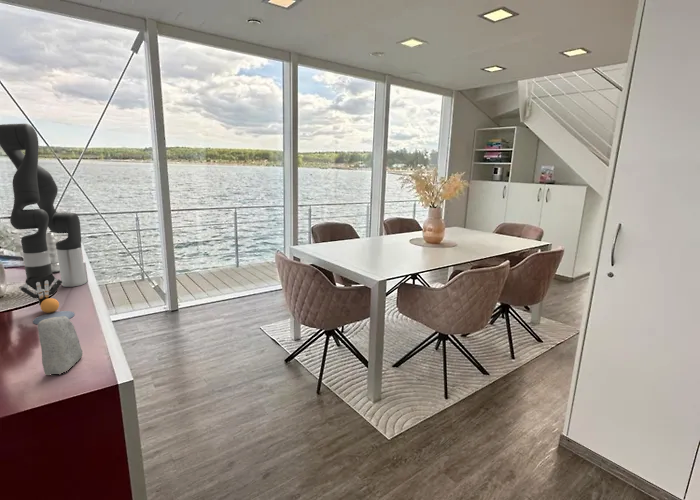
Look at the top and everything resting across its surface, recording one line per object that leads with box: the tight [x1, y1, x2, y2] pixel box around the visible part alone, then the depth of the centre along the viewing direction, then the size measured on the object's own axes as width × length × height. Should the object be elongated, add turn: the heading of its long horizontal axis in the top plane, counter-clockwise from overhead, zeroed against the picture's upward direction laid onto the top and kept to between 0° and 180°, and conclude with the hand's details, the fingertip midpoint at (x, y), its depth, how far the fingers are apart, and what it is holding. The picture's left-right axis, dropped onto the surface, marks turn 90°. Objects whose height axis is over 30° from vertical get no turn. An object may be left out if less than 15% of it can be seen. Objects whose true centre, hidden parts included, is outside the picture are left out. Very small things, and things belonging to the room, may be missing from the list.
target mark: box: [32, 310, 76, 325], centre depth 136 cm, size 12×12×1 cm
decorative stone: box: [37, 316, 83, 376], centre depth 103 cm, size 11×6×15 cm, turn 5°
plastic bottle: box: [46, 232, 60, 273], centre depth 188 cm, size 6×7×20 cm
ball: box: [39, 297, 60, 314], centre depth 140 cm, size 6×6×6 cm
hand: (44, 306), depth 142 cm, fingers closed
